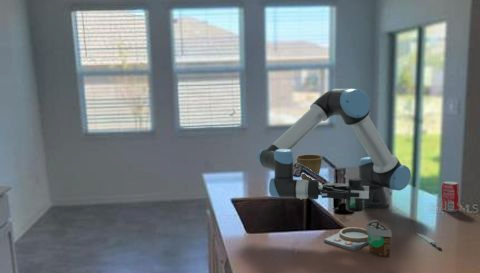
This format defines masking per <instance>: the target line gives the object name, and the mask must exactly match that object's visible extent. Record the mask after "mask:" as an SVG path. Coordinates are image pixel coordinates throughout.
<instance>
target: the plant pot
mask: <svg viewBox="0 0 480 273" xmlns="http://www.w3.org/2000/svg"><path fill="white" fill-rule="evenodd" d="M295 159H296V162H297V163H300V164H302V165H304V166H306V167H308V168H309V169H311V170H312V171H313V172H315V173H316V174H318V175H319V174H320V173H321V172H320V171H321V167H322V161H323V157H322V156H321V155H319V154H302V155H301V154H300V155H297V156H296V158H295ZM300 178H301V180H308V181H310V180H312V179H311V178H309V177H307V176H306V175H305V174H302V176H301V175H300Z"/></svg>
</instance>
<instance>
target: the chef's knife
mask: <svg viewBox="0 0 480 273" xmlns="http://www.w3.org/2000/svg"><path fill="white" fill-rule="evenodd" d="M416 235H418V237H420V238H421V239H423V240H424V241H426V242H427V243H428V244H430V245H431V246H433V247H434V248H435V249H437V250H439V251H440V252H441V251H442V250H443V249H442V247H440V246H438V245H437V244H438V242H437V241H435V240H433V239H432V238H430V237H428V236H427V235H424V234H422V233H418V232H416Z"/></svg>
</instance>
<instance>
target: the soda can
mask: <svg viewBox="0 0 480 273" xmlns="http://www.w3.org/2000/svg"><path fill="white" fill-rule="evenodd" d="M441 184H442V185H441V209H442V210H443V211H444V212H447V213H456V212H458V211H459V209H460V185H459V182H458V181H455V180H445V181H443V182H442V183H441Z"/></svg>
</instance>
